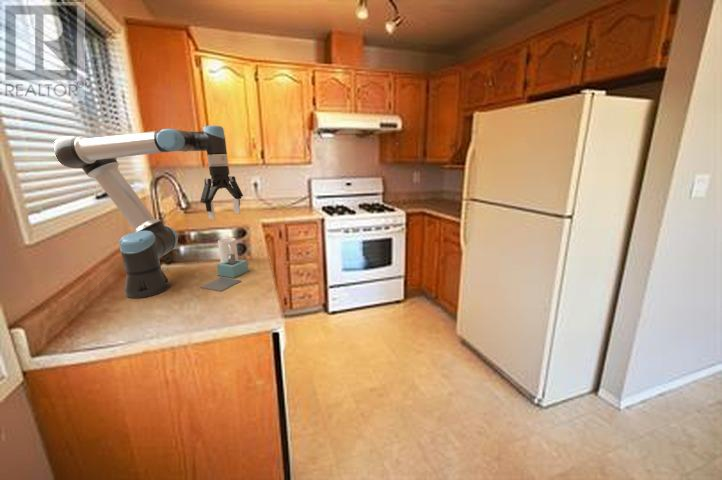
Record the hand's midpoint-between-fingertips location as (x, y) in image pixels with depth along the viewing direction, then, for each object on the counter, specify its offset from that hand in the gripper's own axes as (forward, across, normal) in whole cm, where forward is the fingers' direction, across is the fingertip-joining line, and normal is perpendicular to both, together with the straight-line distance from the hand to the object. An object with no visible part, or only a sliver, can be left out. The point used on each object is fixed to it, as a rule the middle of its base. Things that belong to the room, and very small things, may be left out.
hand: (225, 216), depth 138 cm
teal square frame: (+26, 0, 0) cm, 26 cm away
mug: (+27, +10, +12) cm, 31 cm away
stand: (+27, 0, 0) cm, 27 cm away
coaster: (+27, -11, -5) cm, 29 cm away
